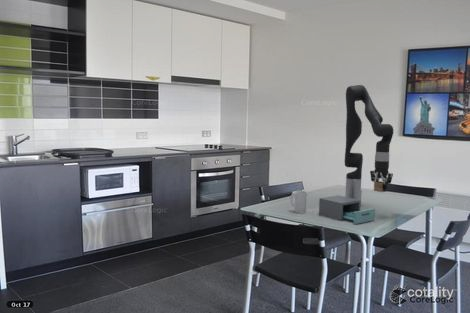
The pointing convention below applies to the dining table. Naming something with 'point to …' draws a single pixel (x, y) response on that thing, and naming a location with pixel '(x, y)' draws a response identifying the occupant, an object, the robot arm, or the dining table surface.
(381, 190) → the walnut block
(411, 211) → the dining table surface
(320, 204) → the grey drawer box
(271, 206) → the dining table surface
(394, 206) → the dining table surface
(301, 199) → the mug
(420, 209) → the dining table surface
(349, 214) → the teal drawer
